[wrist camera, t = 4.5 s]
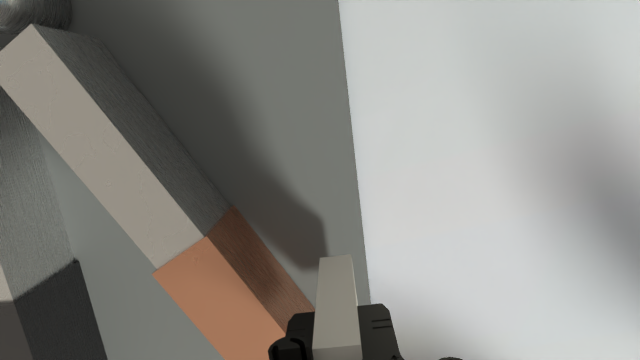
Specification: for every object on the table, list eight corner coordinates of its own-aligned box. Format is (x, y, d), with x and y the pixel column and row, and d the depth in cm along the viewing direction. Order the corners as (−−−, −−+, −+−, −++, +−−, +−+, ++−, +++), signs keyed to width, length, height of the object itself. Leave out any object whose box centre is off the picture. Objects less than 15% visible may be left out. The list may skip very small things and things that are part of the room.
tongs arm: (-3, 0, 17) (-128, -33, 13) (42, -41, 17) (-71, -92, 12) (286, 354, 21) (273, 430, 16) (330, 328, 20) (328, 398, 16)
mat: (-120, -139, 17) (-131, -144, 16) (314, -218, 15) (313, -226, 15) (60, 401, 23) (55, 406, 22) (378, 375, 22) (379, 380, 21)
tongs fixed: (-100, -99, 17) (-307, -189, 11) (44, -124, 16) (-99, -230, 11) (64, 398, 22) (-21, 496, 17) (173, 389, 22) (121, 486, 16)
